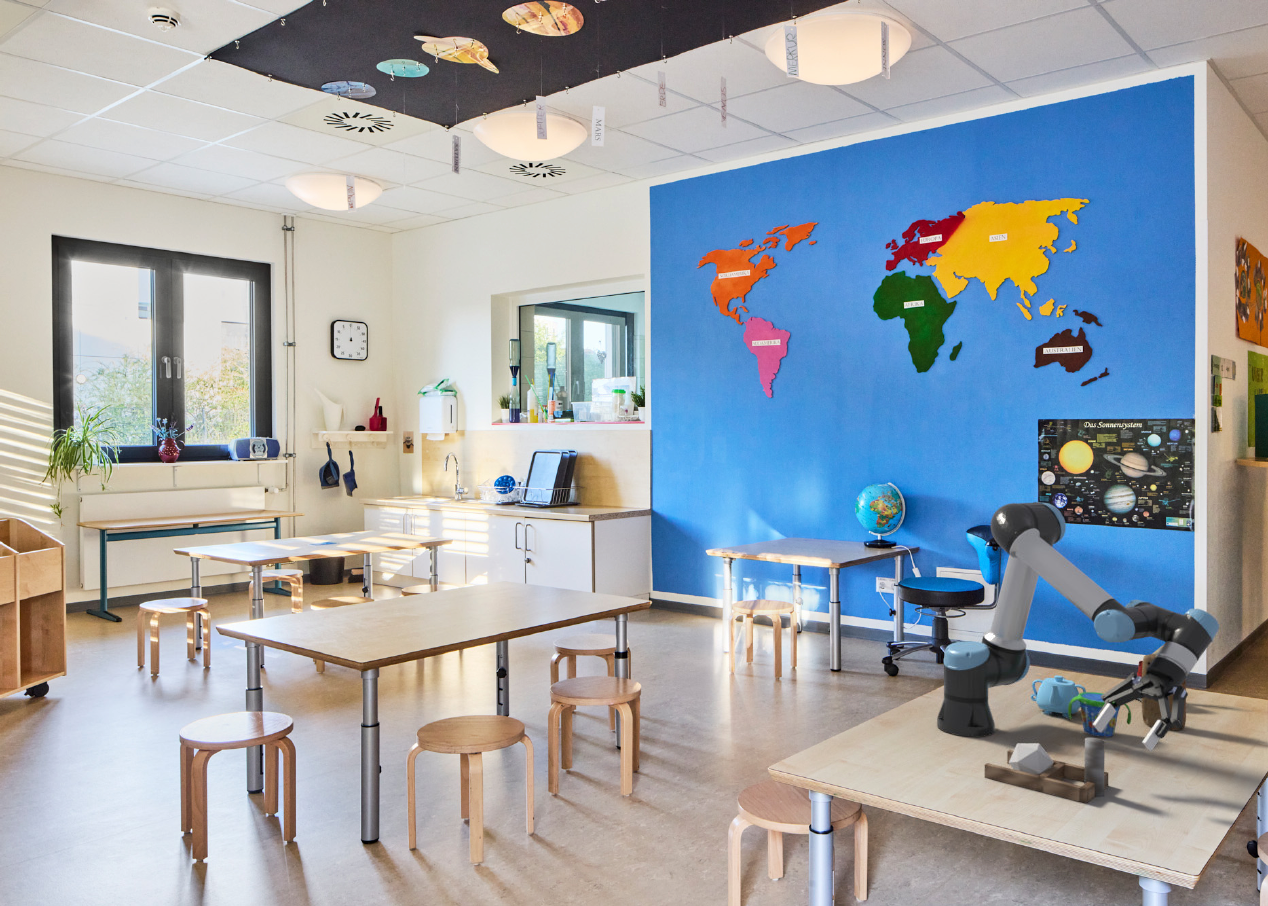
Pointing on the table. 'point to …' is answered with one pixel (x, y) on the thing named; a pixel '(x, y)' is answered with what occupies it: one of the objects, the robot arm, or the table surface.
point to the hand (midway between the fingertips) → (1120, 737)
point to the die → (1030, 758)
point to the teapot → (1056, 695)
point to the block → (1152, 707)
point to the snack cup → (1095, 713)
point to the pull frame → (1061, 775)
